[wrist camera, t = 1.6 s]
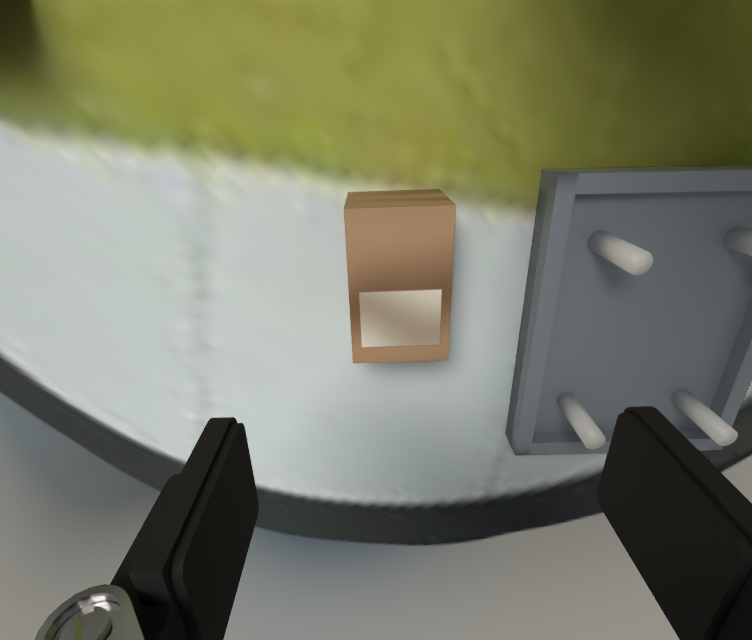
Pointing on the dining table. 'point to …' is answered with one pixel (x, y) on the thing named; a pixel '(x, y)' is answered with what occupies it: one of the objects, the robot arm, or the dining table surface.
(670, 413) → the tray
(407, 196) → the labeled cardboard box
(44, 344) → the dining table surface
